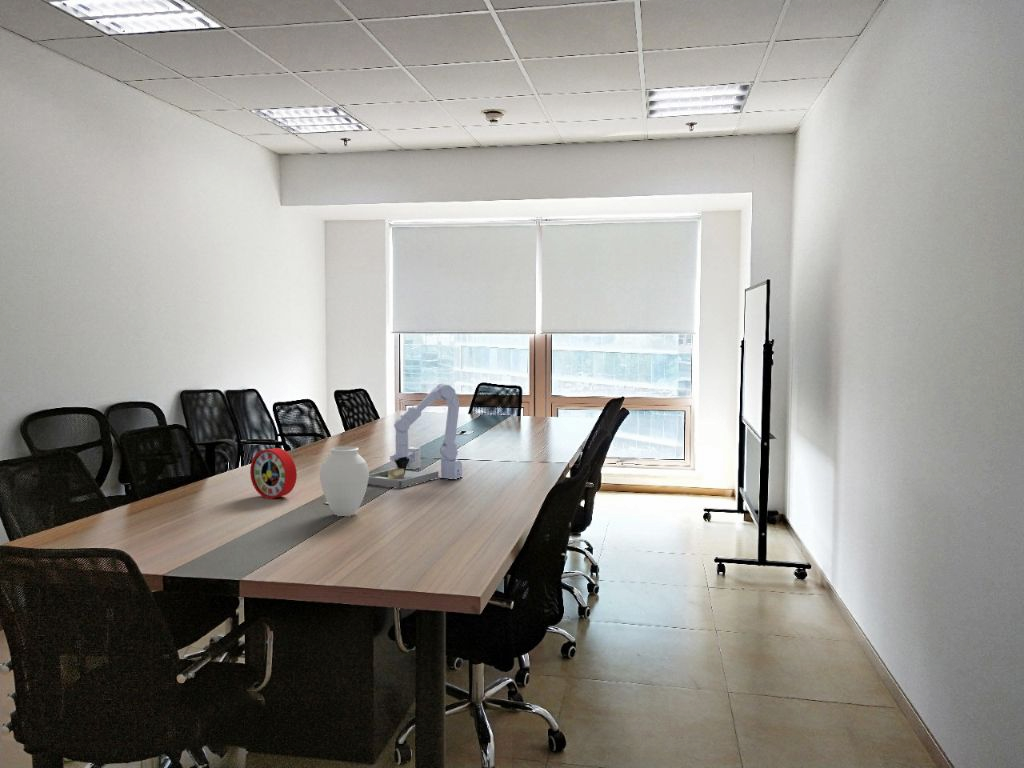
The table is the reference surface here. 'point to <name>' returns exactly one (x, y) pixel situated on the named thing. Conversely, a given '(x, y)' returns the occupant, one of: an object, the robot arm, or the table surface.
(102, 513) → the table surface
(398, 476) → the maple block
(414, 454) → the light bulb box
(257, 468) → the toy clock
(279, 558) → the table surface
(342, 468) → the vase
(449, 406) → the robot arm
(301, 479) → the table surface
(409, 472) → the grey tray
